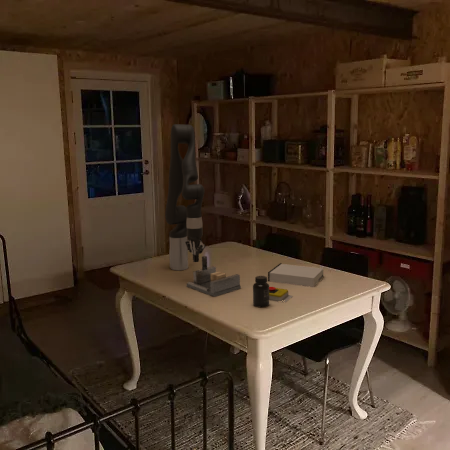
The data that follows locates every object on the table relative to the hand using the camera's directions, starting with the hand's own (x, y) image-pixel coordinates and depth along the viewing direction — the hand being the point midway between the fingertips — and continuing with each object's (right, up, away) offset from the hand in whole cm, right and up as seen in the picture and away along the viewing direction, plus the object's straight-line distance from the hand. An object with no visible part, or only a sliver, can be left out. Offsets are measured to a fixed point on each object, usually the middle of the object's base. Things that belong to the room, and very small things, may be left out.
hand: (196, 261), depth 244 cm
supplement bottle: (+29, -16, -30) cm, 45 cm away
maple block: (+11, -11, -10) cm, 18 cm away
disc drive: (+49, -9, +3) cm, 49 cm away
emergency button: (+35, -15, -21) cm, 43 cm away
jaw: (+4, -9, -3) cm, 11 cm away
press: (+9, -11, -7) cm, 16 cm away
